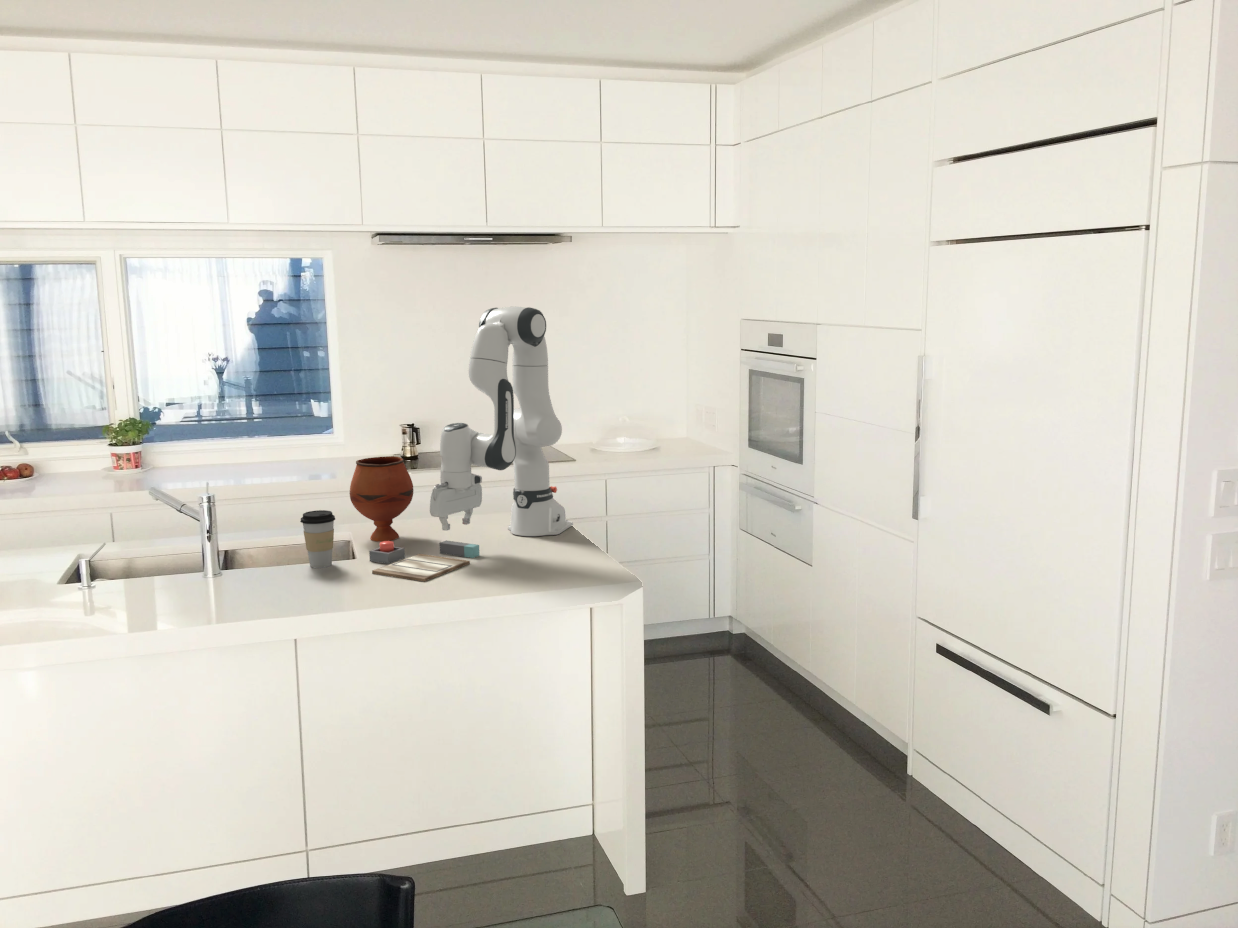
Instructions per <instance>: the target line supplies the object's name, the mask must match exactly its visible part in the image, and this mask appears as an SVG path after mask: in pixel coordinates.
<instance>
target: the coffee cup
mask: <svg viewBox="0 0 1238 928" xmlns="http://www.w3.org/2000/svg"><path fill="white" fill-rule="evenodd" d="M335 520H336V517H335V515H334V514H333V512H332V510H321V509H319V510H310V511H306V512H303V513H302V517H301V518H300V523H301V524H302V527H303V536H304V543H305V548H306V551H307V556H308V561H309V566H310V568H315V569H321V568H322V569H323V568H328V567H331V566H332V564H333V549H334V539H335V537H334V535H335V527H334V526H335V525H334V523H335V522H334V521H335Z"/></svg>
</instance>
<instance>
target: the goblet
mask: <svg viewBox="0 0 1238 928" xmlns="http://www.w3.org/2000/svg"><path fill="white" fill-rule="evenodd" d="M355 464H356V465H355V469H354V472H353V475H352V478H351V481H350V485H349V499H350V501H351V504H352V506H353V507H354V508H355V509H356V511H357V512H359V514H361V515H362V516H363V517H365V518H367V519H369V520H371V521H373V525H374V527H376V528H375V530H374V531H373V532H372V533H371V535H370V538H369V539H370V541H372V542H378V543H380V542H383V541H395V540H397V539H399V538H400V535H399V533H398V532H397V531H396V529H394V528H393V527H392V524H393V523H394V521H393V519H395V518H397V517H399V516H400V515H401V514H402V513H403V512H405V510H406V509H407V508H408V507H409V506H410V504H411V502H412V500H413V497H414V484H413V481H412V477H411V476H410V474H409V471H408V469H407V467H406V465H405V461H404V458H402V457H401V456H396V455H395V456H394V455H393V456H392V455H390V456H374V457H367V458H362V459H357V460H356V461H355Z"/></svg>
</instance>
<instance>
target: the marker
mask: <svg viewBox="0 0 1238 928" xmlns="http://www.w3.org/2000/svg"><path fill="white" fill-rule="evenodd" d="M438 544H439V545H438V546H439V548H438V549H439V554H440V555H441V554H442V555H450V556H457V557H462V556H463V558H469V557H470V559H474V558H477V557H480V544H476V543H475V544H474V543H468V542H460V541H454V540H443V541H440V542H439V543H438Z"/></svg>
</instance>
